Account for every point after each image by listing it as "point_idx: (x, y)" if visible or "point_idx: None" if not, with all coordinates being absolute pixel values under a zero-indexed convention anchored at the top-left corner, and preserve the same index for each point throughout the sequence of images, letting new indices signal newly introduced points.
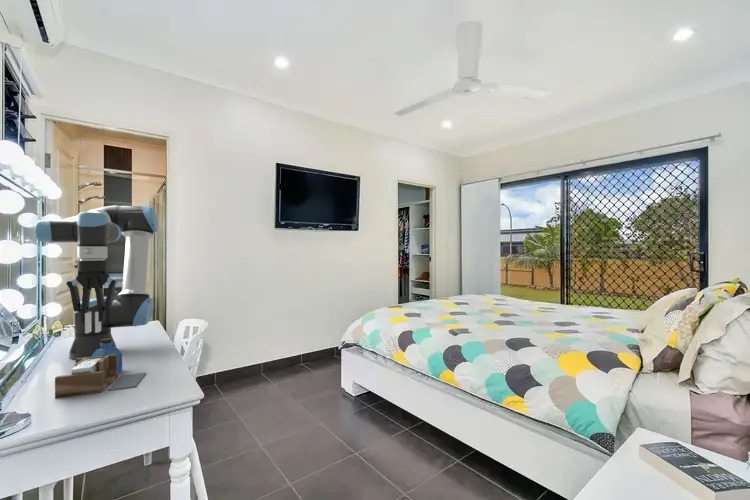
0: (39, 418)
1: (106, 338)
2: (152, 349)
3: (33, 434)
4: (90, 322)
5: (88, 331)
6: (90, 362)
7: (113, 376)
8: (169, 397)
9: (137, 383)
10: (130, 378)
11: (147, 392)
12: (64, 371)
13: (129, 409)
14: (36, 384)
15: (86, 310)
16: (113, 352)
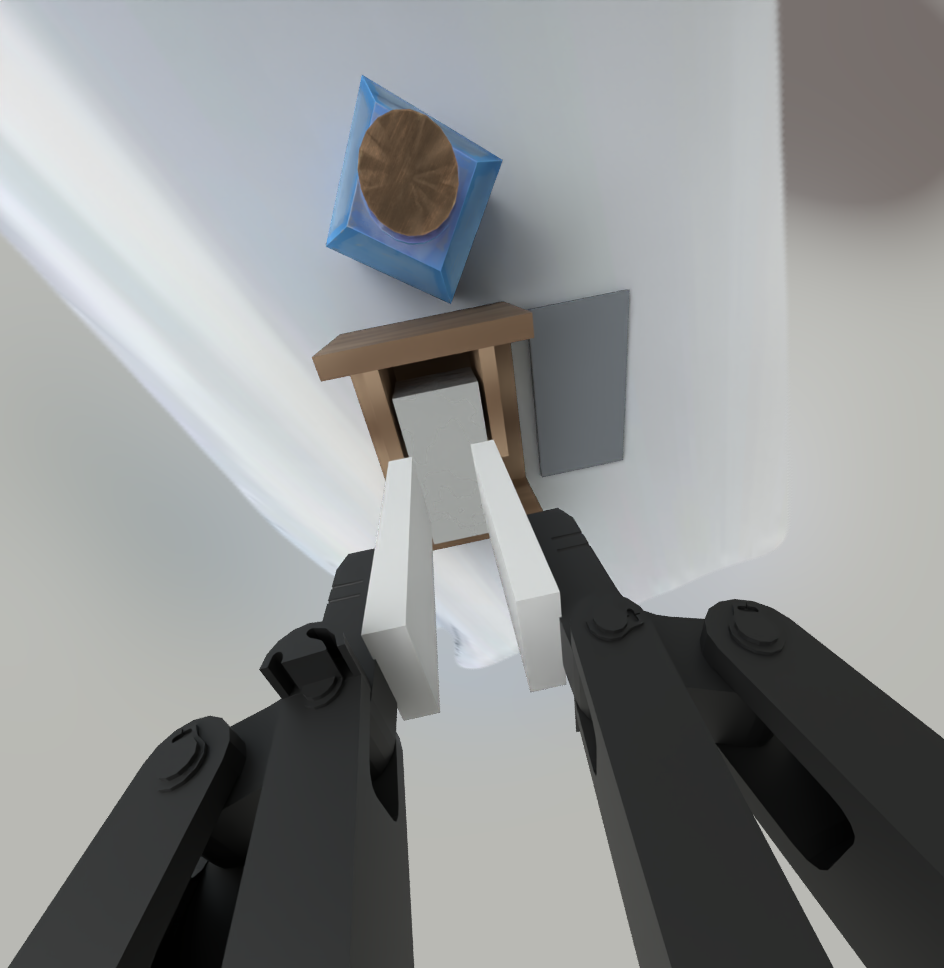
0: (455, 613)
1: (395, 142)
2: None
3: (495, 661)
4: (417, 534)
5: (429, 524)
6: (458, 462)
7: (507, 352)
8: (723, 543)
9: (623, 435)
10: (581, 370)
11: (664, 504)
12: (68, 76)
13: (640, 591)
14: (159, 343)
15: (388, 730)
16: (470, 220)
